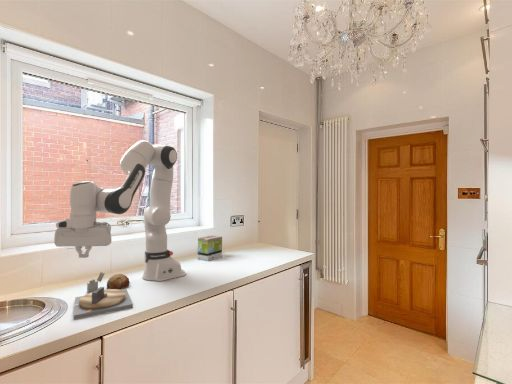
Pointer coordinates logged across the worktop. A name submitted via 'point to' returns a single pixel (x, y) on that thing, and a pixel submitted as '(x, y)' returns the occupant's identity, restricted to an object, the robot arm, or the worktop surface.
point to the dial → (102, 298)
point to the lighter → (94, 283)
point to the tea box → (209, 248)
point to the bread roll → (118, 282)
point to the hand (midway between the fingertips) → (83, 257)
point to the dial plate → (84, 312)
